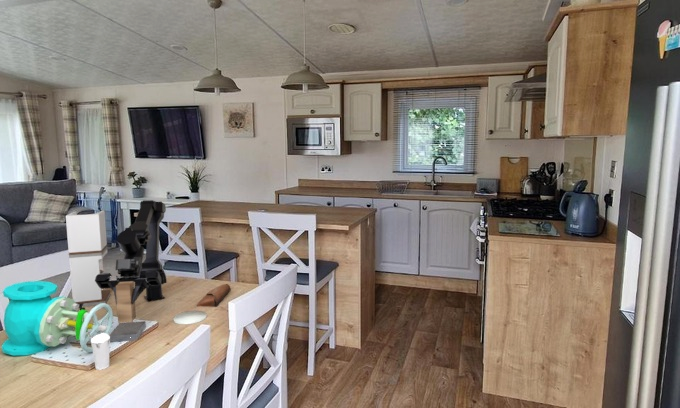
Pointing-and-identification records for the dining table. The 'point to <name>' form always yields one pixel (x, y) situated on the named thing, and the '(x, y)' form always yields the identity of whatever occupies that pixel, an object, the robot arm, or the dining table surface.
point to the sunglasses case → (214, 296)
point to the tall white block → (87, 256)
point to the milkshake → (101, 350)
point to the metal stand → (127, 331)
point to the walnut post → (125, 302)
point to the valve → (46, 319)
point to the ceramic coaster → (190, 317)
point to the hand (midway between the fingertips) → (124, 304)
